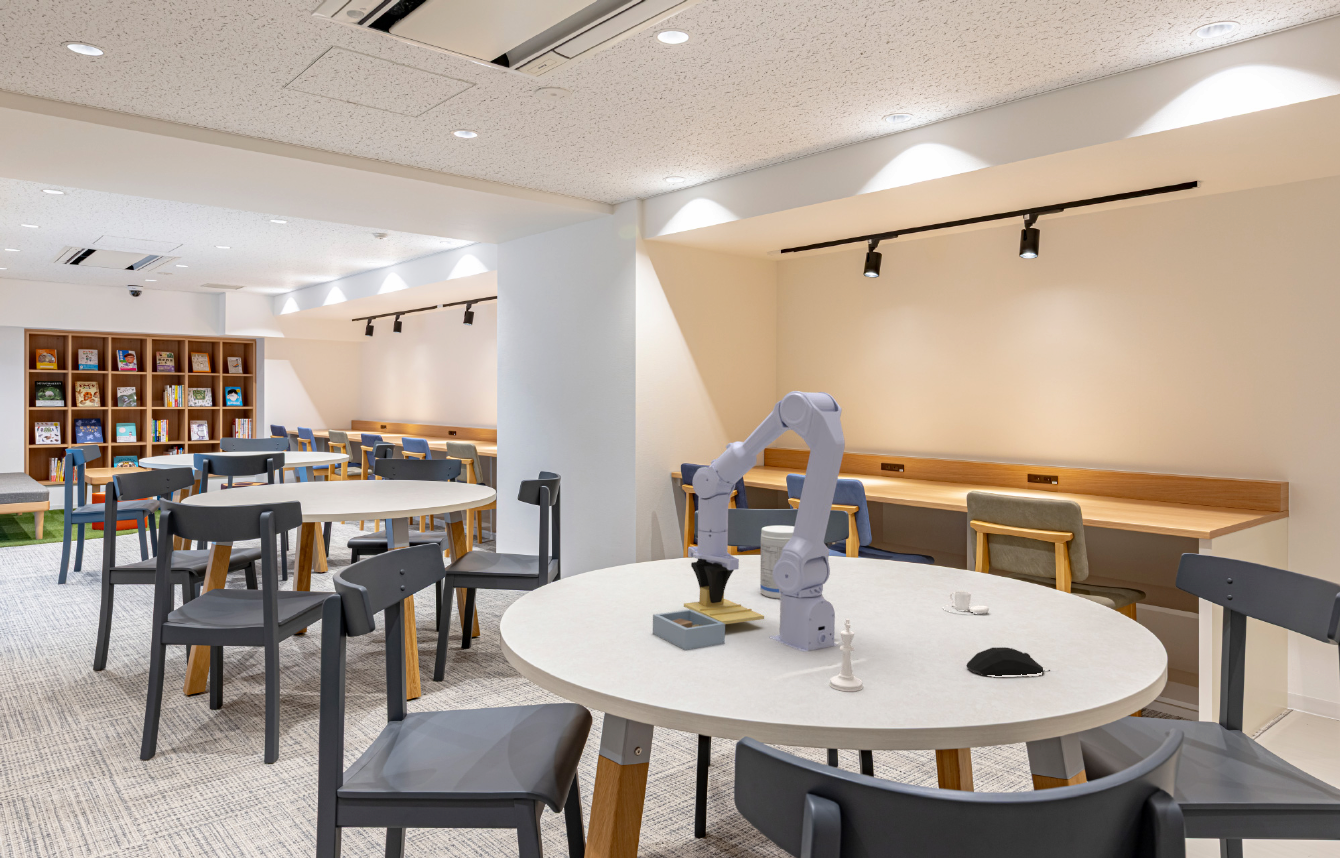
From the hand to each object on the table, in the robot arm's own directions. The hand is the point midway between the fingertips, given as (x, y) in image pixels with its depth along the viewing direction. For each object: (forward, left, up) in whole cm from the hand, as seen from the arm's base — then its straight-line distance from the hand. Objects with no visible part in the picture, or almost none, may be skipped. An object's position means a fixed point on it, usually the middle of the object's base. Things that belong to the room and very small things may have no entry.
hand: (711, 600), depth 154 cm
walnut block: (-8, +12, -3) cm, 15 cm away
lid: (-4, 0, -1) cm, 4 cm away
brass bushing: (-12, +10, -3) cm, 16 cm away
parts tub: (-9, +11, -4) cm, 15 cm away
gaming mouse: (-47, -27, -5) cm, 54 cm away
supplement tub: (+11, -26, -4) cm, 29 cm away
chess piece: (-39, +2, -4) cm, 39 cm away
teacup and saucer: (-19, -49, -5) cm, 53 cm away
